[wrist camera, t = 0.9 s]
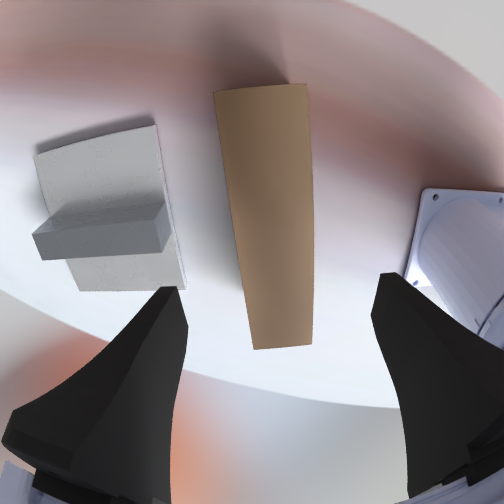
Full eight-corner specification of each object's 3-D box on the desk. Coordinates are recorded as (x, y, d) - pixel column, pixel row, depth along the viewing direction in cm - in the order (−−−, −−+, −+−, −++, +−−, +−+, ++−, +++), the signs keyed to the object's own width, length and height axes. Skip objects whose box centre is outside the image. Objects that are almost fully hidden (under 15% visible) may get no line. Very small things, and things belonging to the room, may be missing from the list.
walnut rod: (290, 83, 14) (306, 83, 10) (301, 291, 21) (312, 344, 17) (224, 90, 14) (213, 92, 10) (253, 296, 22) (253, 349, 17)
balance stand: (156, 124, 15) (137, 134, 12) (187, 284, 21) (179, 313, 18) (38, 154, 15) (11, 168, 13) (82, 286, 21) (67, 311, 18)
